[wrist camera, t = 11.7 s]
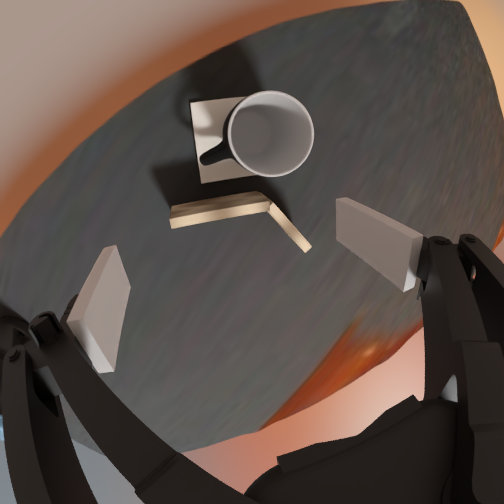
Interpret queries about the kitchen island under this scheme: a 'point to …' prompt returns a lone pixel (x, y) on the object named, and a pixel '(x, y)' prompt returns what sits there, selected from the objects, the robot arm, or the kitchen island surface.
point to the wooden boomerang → (233, 212)
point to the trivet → (214, 138)
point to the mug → (265, 135)
